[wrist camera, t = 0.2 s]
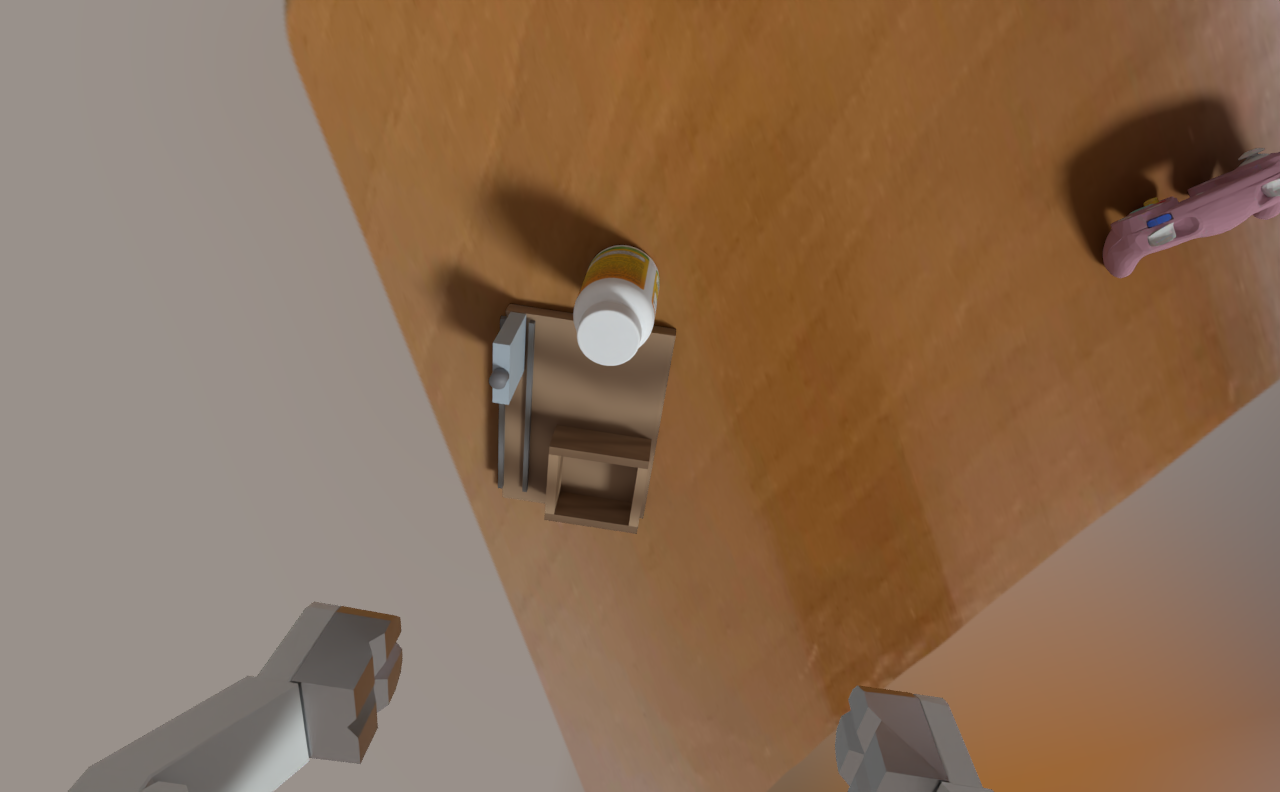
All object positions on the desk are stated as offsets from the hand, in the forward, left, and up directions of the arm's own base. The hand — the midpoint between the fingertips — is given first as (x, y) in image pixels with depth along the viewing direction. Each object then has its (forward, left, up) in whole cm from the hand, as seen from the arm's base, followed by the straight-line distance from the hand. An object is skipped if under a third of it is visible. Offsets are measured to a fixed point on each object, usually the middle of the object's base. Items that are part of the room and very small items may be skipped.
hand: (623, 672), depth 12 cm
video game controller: (-2, +32, -39) cm, 50 cm away
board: (+22, -5, -38) cm, 45 cm away
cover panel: (+15, -10, -37) cm, 41 cm away
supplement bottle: (+9, -3, -39) cm, 40 cm away
